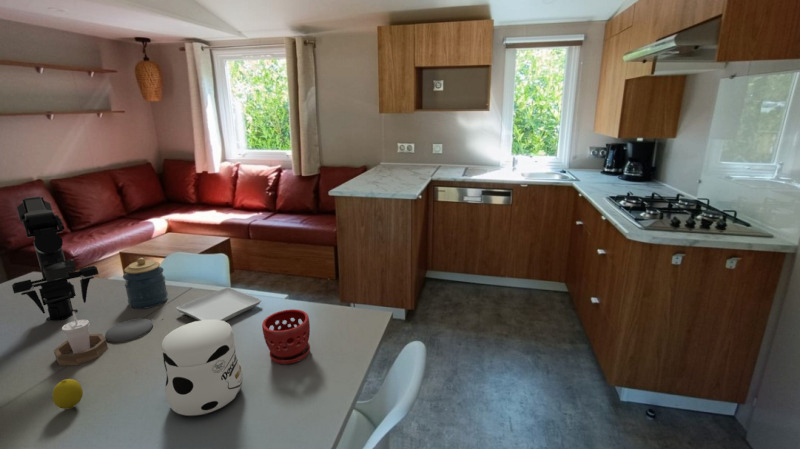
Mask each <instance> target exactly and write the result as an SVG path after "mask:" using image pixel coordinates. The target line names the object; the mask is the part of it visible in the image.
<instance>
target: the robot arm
mask: <svg viewBox="0 0 800 449" xmlns="http://www.w3.org/2000/svg"><path fill="white" fill-rule="evenodd" d="M21 201H22V203H20V204H19V205H18V206H16V210H17V211H16V212H17V215H18V218H19V222H20V223H21V224H23V227H24V230H25V233H26V237H27V238H28V239H29V238H30V239H31V238H33V239H34V241H33V242H32V243H33V245H34V246H33V248H34V250H35V253H36V257H37V260H38V264H39V267H40V273H41V276H42V278H41V279H37V280H33V281H32V280H31V279H28V280H22V281H18V282H14V283H12V285H11V287H12V291H13V294H18V293H20V295H21V296H24V295H26V296H27V297H29V298H30V299H31V300H32V301H33V302H34V303H35V305H36V306H37V307H38V308H39V310H40V311H41V312H42V313H43V314H46V311H45V308H44V306H47V311H48V315H49V316H48V317H46V318H45V319H46V321H59V320H60V321H61V320H67V319H68V318H70V317H71V316H73V311H75V313H77V312H78V309H74V308H73V305H72V301H71V299H74V298H75V297H76V296H77V294H76V290H75V285H74V284H72V283H71V281H68V280H72V279H76V278H80V280H79V282H80V288H81V296H82V297H81V298H82V301H83V303H86V302H87V294H88V287H89V284H90V281H91V280H92V279H94V278H95V277H94V276H96V275H99V274H100V273H99V270H98V267H97V266H95V265H91V266H88V267H86V266H85V267H82V268H79V269H78V270H77V267H76V263H75V261H74V260H75V259H73V258H71V259H67V260H66V257H65V253H64V251H63V242H64V241H63V238H62V237H61V235H59V234H60V233H63V232H64V230H65V225H64V223H63V220H62V218H61V217H60V216H59V215H58V214H55V213H54V211H53V208H52V205H51V204H52V203H50V202H48V201H46V200H45V199H44V197H43V196H32V197H25V198H22V200H21ZM38 287H41V288H39V289H38V290H39V294H40V297H41V299H40V297H39V296H38V293H37V291H36V290H35V288H38ZM41 301H42V302H41Z"/></svg>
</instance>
